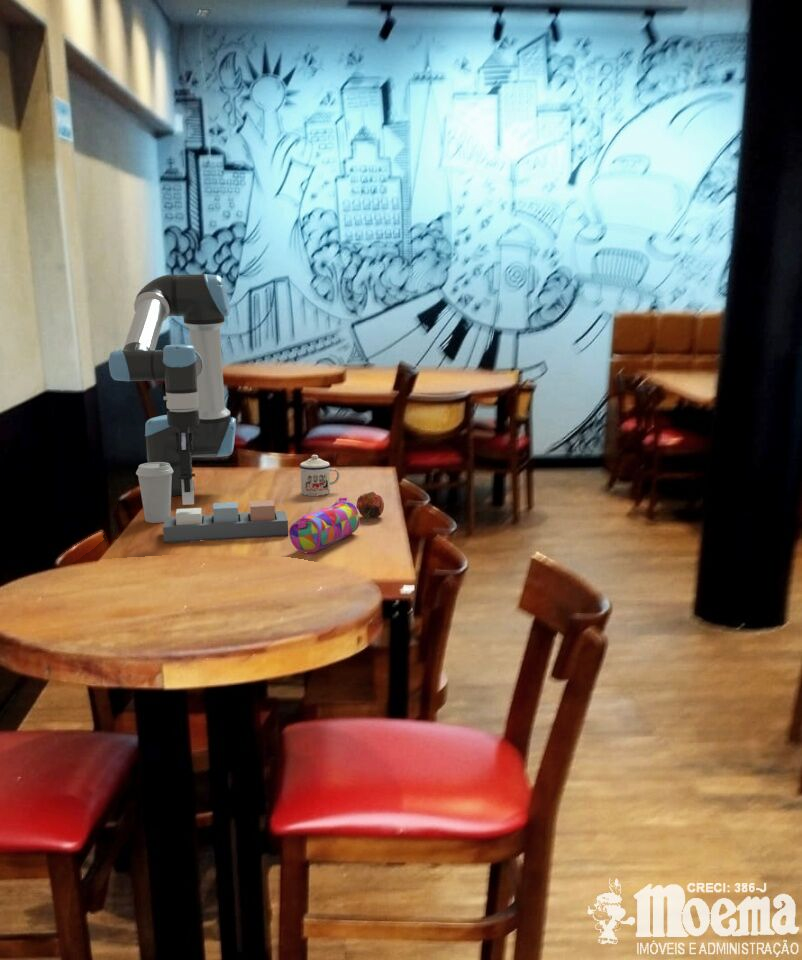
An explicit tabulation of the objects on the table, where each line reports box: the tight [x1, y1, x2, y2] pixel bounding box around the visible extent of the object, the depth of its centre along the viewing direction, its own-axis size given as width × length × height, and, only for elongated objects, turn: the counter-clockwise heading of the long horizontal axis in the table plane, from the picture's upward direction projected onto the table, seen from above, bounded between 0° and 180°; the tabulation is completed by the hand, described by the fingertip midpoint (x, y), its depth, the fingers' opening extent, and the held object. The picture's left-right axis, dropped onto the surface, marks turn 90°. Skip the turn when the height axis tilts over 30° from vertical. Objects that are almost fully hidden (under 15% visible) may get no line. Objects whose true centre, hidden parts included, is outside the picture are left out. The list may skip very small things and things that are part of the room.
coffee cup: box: [135, 462, 173, 524], centre depth 228 cm, size 10×10×15 cm
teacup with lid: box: [299, 454, 341, 497], centre depth 258 cm, size 12×9×12 cm
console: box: [162, 510, 289, 544], centre depth 216 cm, size 10×30×4 cm, turn 101°
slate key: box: [212, 501, 239, 523], centre depth 215 cm, size 6×6×4 cm
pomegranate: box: [355, 491, 385, 522], centre depth 230 cm, size 7×7×10 cm
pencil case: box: [288, 497, 360, 554], centre depth 208 cm, size 22×9×9 cm, turn 158°
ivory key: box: [175, 507, 203, 525], centre depth 213 cm, size 6×6×4 cm
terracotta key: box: [249, 499, 276, 521], centre depth 217 cm, size 6×6×4 cm
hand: (188, 503), depth 213 cm, fingers closed
